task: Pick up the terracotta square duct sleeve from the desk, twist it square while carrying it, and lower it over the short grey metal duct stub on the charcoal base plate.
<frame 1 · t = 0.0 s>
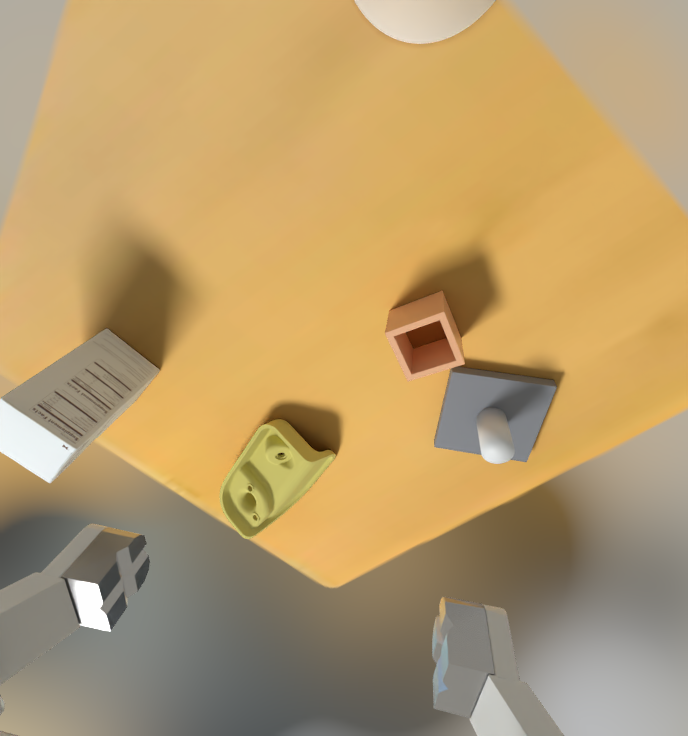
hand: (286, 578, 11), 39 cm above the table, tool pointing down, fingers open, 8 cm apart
plastic component: (276, 462, 65), on the table
supplement box: (122, 366, 60), on the table
sleeve: (425, 324, 48), on the table
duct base: (489, 412, 53), on the table
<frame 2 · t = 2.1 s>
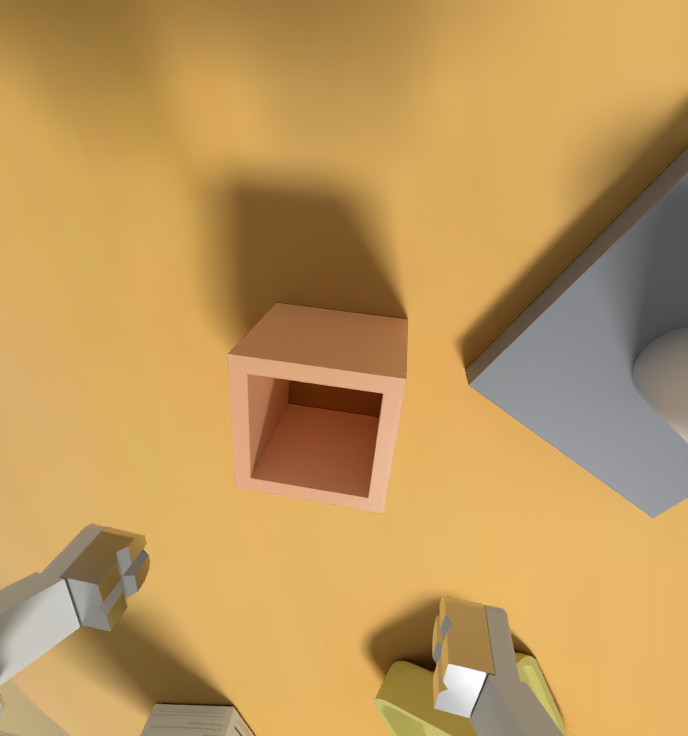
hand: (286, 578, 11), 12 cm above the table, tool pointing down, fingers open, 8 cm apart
plastic component: (475, 711, 34), on the table
supplement box: (213, 725, 42), on the table
sleeve: (336, 369, 21), on the table
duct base: (661, 352, 18), on the table
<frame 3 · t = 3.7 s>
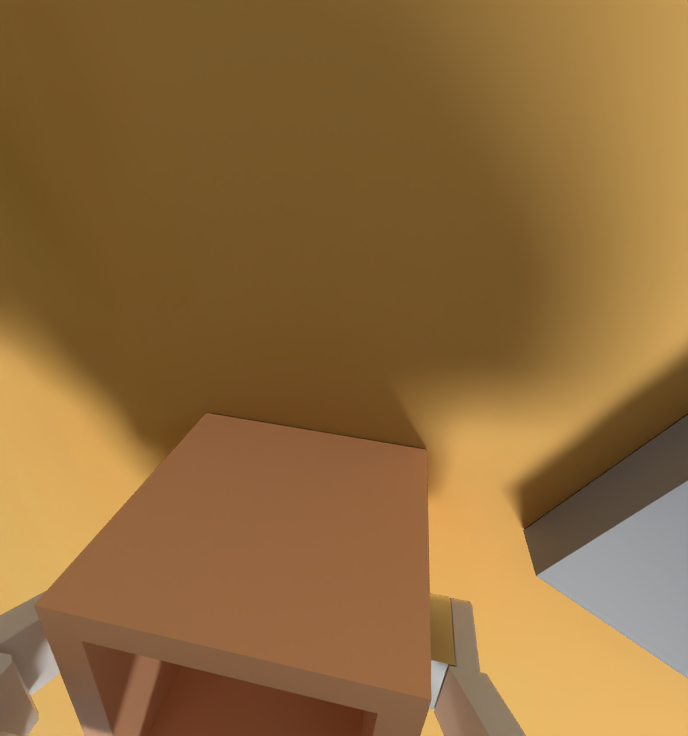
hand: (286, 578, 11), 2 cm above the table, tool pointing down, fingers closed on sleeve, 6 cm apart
sleeve: (308, 514, 13), on the table, touching gripper
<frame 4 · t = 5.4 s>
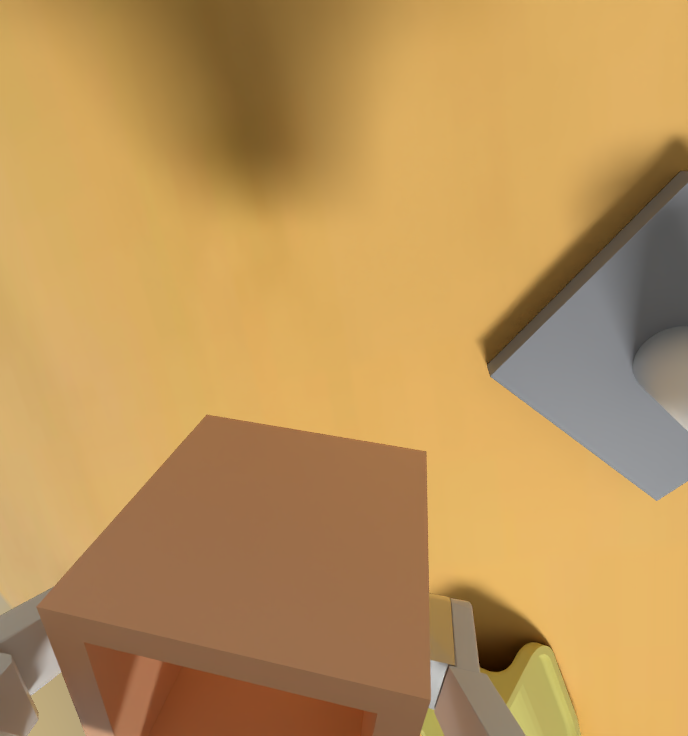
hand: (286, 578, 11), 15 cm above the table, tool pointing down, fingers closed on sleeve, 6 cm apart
plastic component: (491, 703, 36), on the table
sleeve: (308, 515, 13), point 13 cm above the table, touching gripper
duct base: (659, 350, 21), on the table
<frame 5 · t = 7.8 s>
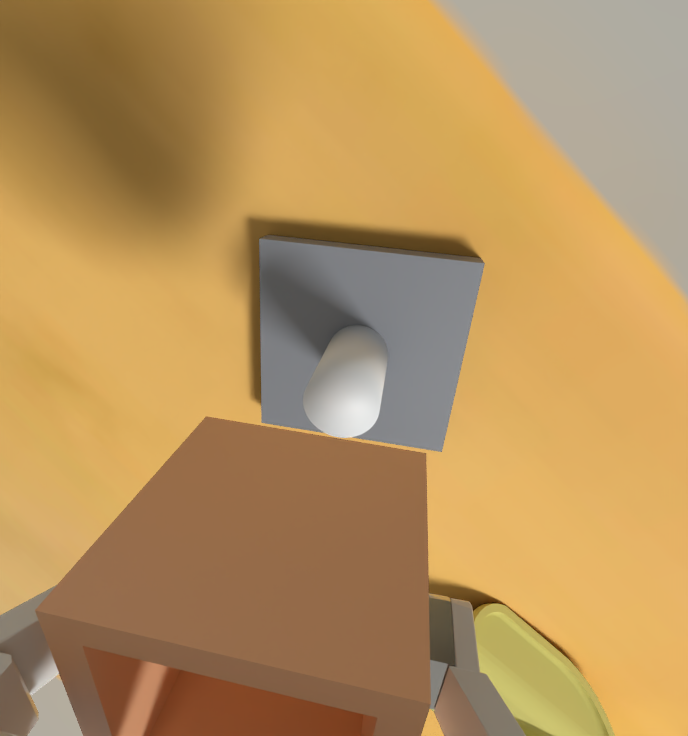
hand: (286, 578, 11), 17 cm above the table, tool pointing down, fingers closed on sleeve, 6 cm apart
plastic component: (502, 671, 38), on the table
sleeve: (307, 517, 13), point 14 cm above the table, touching gripper
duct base: (361, 344, 26), on the table
when the fingers open (6 cm above the table, at t = 10.5 s): sleeve drops 2 cm, resting on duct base.
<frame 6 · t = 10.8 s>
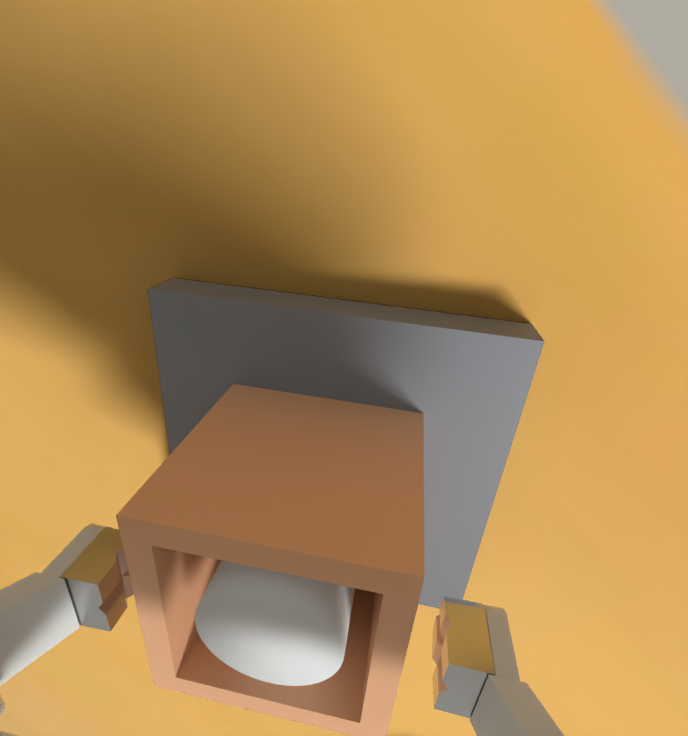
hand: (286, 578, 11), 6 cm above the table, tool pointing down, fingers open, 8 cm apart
sleeve: (320, 474, 15), point 1 cm above the table, touching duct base
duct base: (331, 447, 16), on the table
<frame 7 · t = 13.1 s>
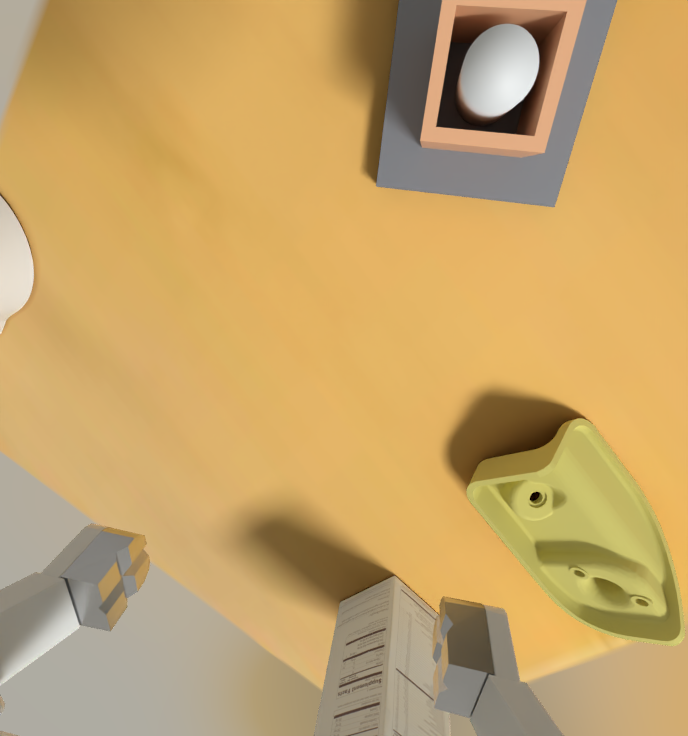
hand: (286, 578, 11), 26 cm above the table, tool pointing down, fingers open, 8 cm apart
plastic component: (563, 508, 39), on the table
supplement box: (392, 609, 50), on the table
sleeve: (482, 94, 26), point 1 cm above the table, touching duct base
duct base: (482, 96, 27), on the table
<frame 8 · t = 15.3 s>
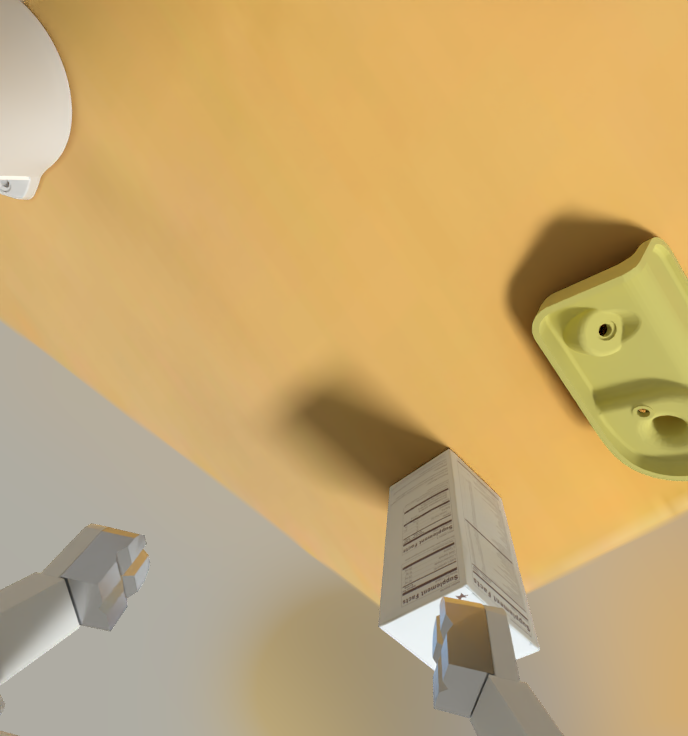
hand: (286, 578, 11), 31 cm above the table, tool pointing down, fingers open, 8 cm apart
plastic component: (623, 355, 38), on the table
supplement box: (444, 491, 48), on the table
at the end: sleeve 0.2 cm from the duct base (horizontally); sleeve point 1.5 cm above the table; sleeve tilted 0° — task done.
